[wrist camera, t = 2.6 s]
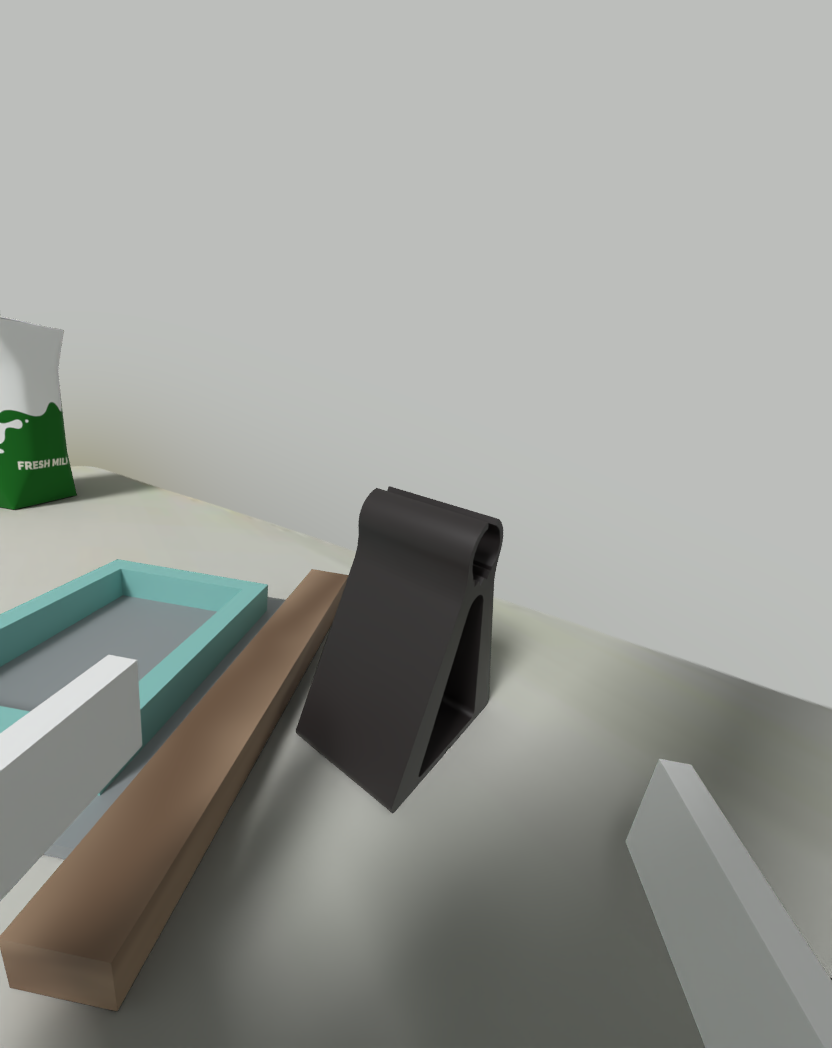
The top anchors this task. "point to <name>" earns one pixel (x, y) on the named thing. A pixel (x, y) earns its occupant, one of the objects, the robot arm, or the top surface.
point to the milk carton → (31, 417)
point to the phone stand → (406, 643)
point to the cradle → (128, 651)
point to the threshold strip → (164, 820)
